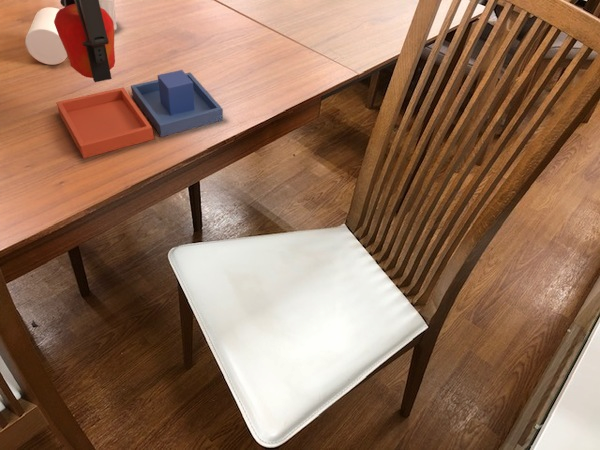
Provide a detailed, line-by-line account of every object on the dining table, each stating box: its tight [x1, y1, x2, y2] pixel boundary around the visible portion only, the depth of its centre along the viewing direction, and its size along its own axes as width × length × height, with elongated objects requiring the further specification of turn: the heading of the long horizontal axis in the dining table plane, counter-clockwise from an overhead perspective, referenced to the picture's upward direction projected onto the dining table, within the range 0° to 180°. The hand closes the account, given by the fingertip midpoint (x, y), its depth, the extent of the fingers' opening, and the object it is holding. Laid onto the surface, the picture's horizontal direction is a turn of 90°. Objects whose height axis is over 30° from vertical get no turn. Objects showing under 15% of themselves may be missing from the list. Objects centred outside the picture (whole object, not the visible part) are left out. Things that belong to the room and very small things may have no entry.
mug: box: [24, 6, 68, 66], centre depth 107 cm, size 12×10×8 cm
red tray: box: [56, 87, 155, 159], centre depth 93 cm, size 15×13×3 cm
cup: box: [99, 0, 118, 32], centre depth 115 cm, size 8×8×12 cm
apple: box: [54, 4, 116, 79], centre depth 81 cm, size 9×8×12 cm
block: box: [156, 69, 195, 115], centre depth 97 cm, size 5×5×6 cm
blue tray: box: [130, 72, 224, 138], centre depth 99 cm, size 15×13×3 cm
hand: (93, 65), depth 85 cm, fingers closed on apple, 9 cm apart
